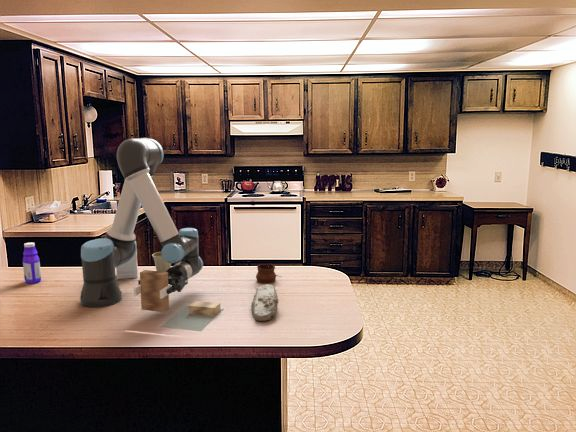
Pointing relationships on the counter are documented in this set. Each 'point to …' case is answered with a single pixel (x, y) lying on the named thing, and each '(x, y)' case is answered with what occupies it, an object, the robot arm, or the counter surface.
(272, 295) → the elongated rock
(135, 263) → the supplement box
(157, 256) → the flower pot
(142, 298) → the slab
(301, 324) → the counter surface
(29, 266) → the bottle
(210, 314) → the tan wooden block
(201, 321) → the mat
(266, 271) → the ceramic pot
